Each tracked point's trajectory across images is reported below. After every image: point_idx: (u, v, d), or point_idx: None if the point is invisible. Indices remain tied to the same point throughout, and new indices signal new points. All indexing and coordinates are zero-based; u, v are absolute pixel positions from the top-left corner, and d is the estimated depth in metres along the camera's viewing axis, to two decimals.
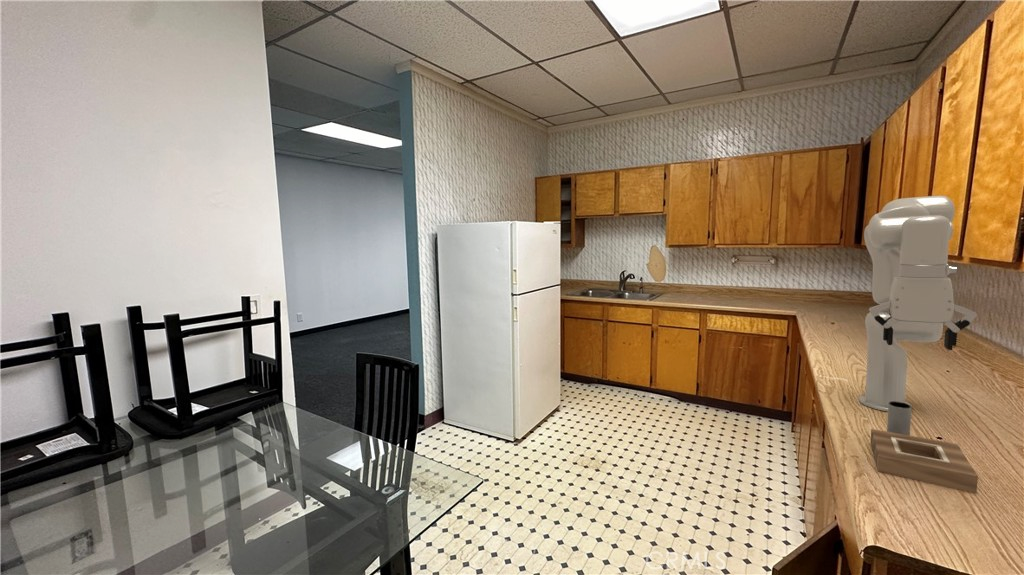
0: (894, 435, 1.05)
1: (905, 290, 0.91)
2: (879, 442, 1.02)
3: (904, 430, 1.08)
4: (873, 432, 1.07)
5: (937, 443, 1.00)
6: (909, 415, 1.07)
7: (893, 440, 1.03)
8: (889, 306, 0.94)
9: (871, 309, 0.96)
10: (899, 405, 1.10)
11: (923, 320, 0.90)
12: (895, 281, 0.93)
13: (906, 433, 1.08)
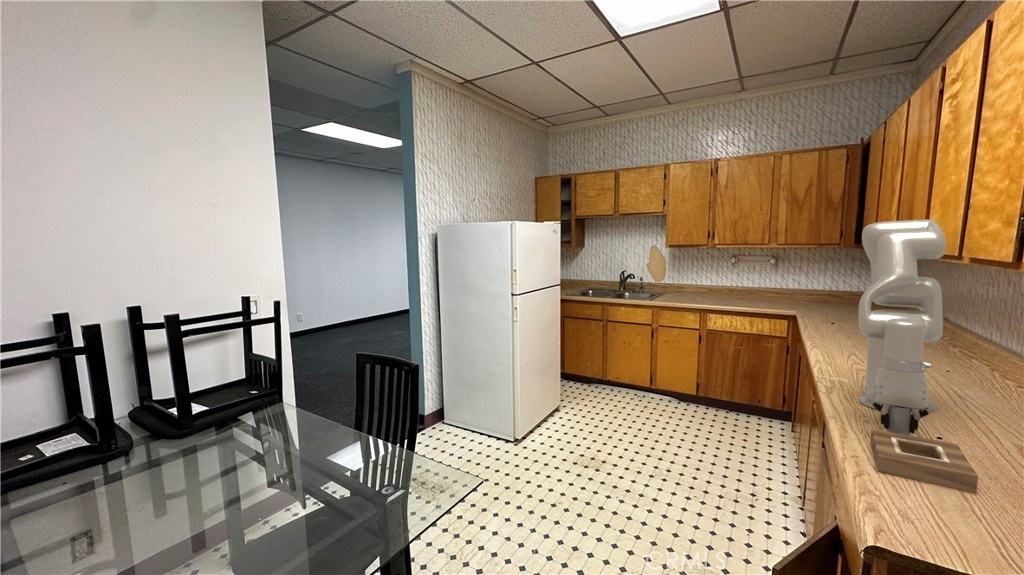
0: (894, 435, 1.05)
1: (888, 379, 1.08)
2: (879, 442, 1.02)
3: (904, 430, 1.08)
4: (873, 432, 1.07)
5: (937, 443, 1.00)
6: (909, 415, 1.07)
7: (893, 440, 1.03)
8: None
9: (866, 399, 1.13)
10: None
11: (902, 405, 1.07)
12: (879, 370, 1.10)
13: (906, 433, 1.08)
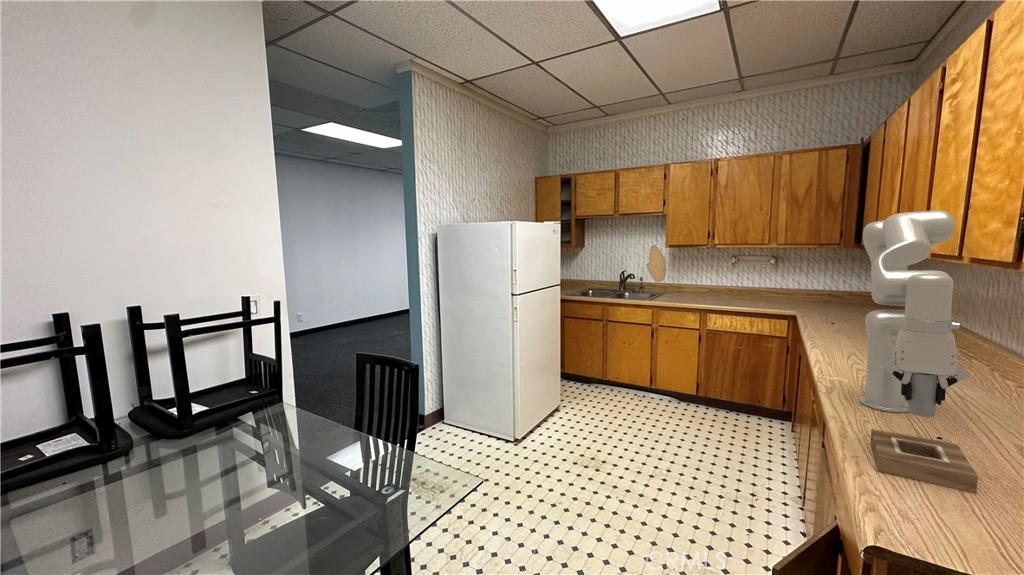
0: (894, 435, 1.05)
1: (910, 343, 0.95)
2: (879, 442, 1.02)
3: (929, 400, 0.94)
4: (873, 432, 1.07)
5: (937, 443, 1.00)
6: (935, 383, 0.94)
7: (893, 440, 1.03)
8: None
9: (885, 367, 0.99)
10: None
11: (927, 372, 0.94)
12: (900, 333, 0.97)
13: (931, 404, 0.94)
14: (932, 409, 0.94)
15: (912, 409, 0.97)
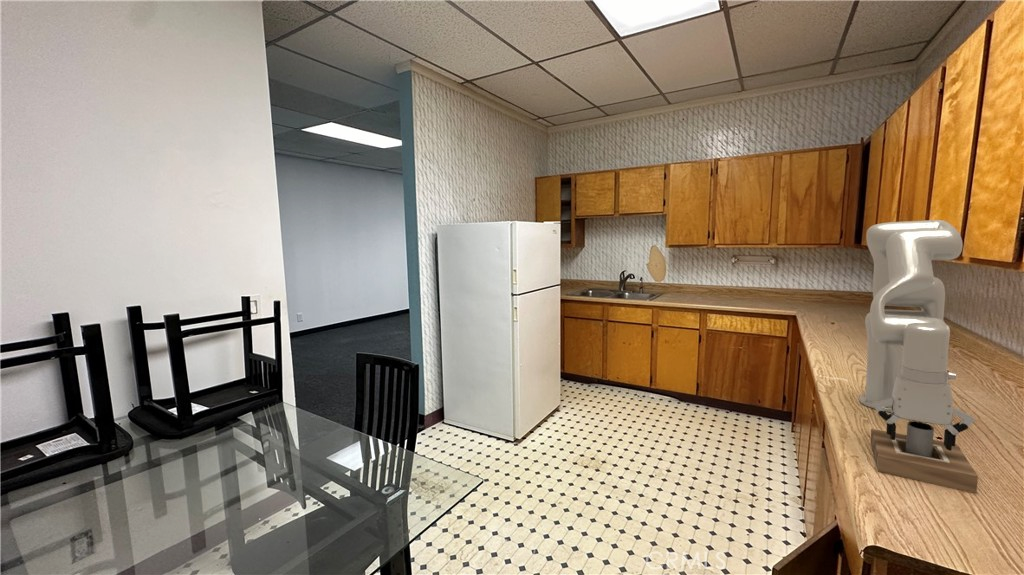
0: None
1: (907, 391, 0.96)
2: (879, 442, 1.02)
3: (925, 454, 0.96)
4: (873, 432, 1.07)
5: (937, 443, 1.00)
6: (931, 437, 0.96)
7: (893, 440, 1.03)
8: (892, 403, 0.99)
9: (875, 404, 1.02)
10: (919, 426, 0.99)
11: (924, 421, 0.95)
12: (897, 380, 0.98)
13: None
14: None
15: None
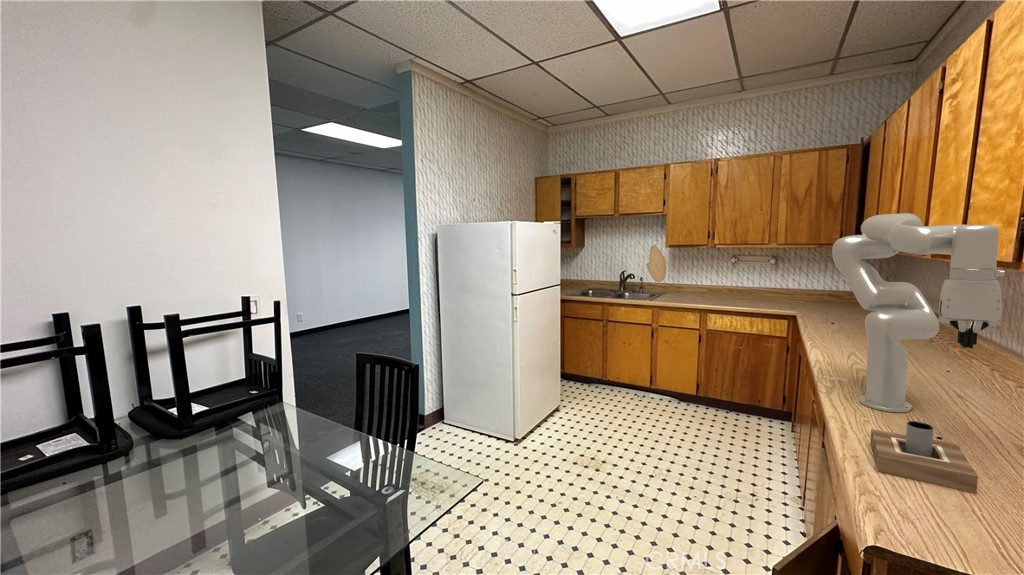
0: (894, 435, 1.05)
1: (956, 291, 1.00)
2: (879, 442, 1.02)
3: (925, 454, 0.96)
4: (873, 432, 1.07)
5: (937, 443, 1.00)
6: (931, 437, 0.96)
7: (893, 440, 1.03)
8: None
9: (940, 320, 1.04)
10: (919, 425, 0.99)
11: (973, 318, 0.99)
12: (946, 283, 1.02)
13: None
14: None
15: None
